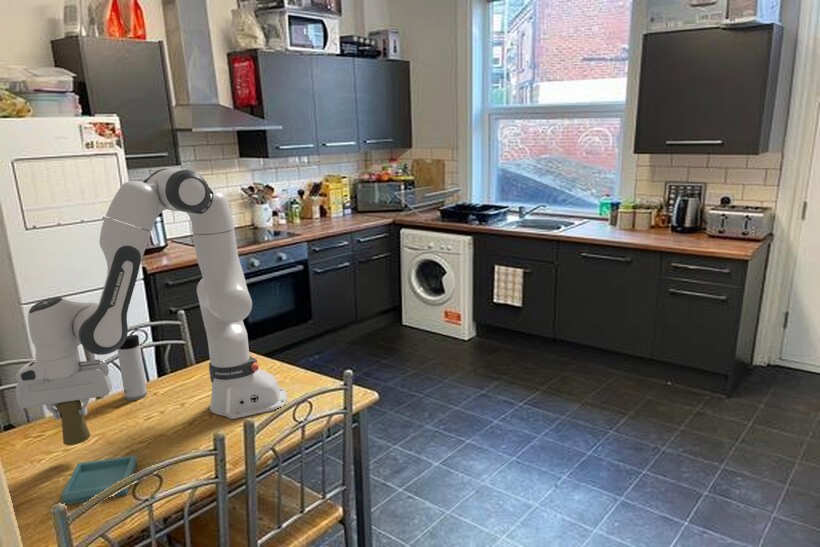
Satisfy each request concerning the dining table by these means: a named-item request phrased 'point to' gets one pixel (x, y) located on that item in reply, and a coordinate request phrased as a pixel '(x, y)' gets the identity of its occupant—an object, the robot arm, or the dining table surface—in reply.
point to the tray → (97, 478)
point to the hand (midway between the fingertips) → (71, 416)
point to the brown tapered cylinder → (72, 423)
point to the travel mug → (132, 369)
